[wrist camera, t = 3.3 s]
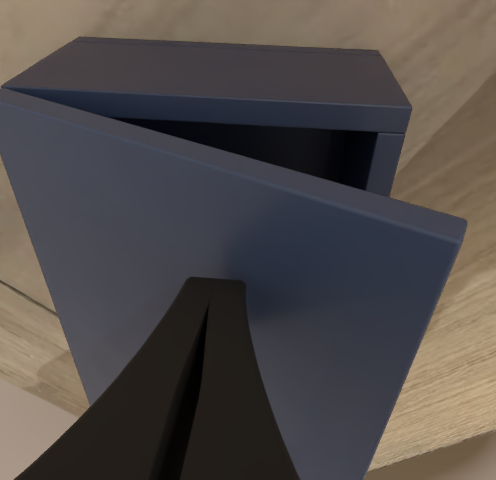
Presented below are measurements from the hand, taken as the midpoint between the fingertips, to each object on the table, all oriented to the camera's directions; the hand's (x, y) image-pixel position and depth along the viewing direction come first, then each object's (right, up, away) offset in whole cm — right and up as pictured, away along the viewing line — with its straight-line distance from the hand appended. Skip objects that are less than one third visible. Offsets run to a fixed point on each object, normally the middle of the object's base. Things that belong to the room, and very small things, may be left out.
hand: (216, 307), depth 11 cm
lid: (-1, -2, +4) cm, 5 cm away
